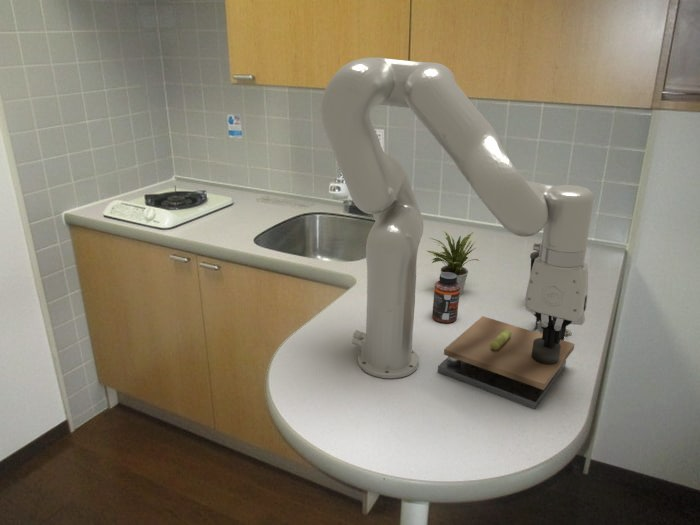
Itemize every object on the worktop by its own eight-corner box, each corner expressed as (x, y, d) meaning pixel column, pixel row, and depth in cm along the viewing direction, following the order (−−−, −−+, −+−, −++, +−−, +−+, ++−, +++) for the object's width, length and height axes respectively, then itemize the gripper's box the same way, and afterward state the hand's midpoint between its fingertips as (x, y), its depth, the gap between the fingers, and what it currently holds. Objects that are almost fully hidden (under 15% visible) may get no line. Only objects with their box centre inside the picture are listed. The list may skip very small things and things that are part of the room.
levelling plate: (443, 354, 114) (445, 336, 112) (481, 320, 127) (483, 303, 126) (543, 389, 103) (546, 369, 101) (573, 349, 116) (577, 330, 115)
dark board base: (437, 372, 116) (439, 354, 115) (475, 337, 130) (477, 320, 128) (534, 409, 105) (537, 389, 104) (565, 366, 119) (568, 349, 117)
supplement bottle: (451, 326, 134) (455, 282, 130) (428, 320, 137) (431, 276, 133) (460, 316, 139) (465, 273, 135) (437, 310, 142) (441, 268, 138)
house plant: (441, 275, 162) (445, 219, 156) (487, 287, 155) (494, 230, 149) (416, 292, 152) (420, 233, 145) (465, 306, 144) (471, 245, 138)
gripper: (514, 252, 104) (505, 341, 111) (600, 270, 96) (585, 365, 103) (529, 241, 110) (520, 326, 117) (611, 257, 101) (596, 348, 108)
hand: (550, 344), depth 110 cm, fingers closed
